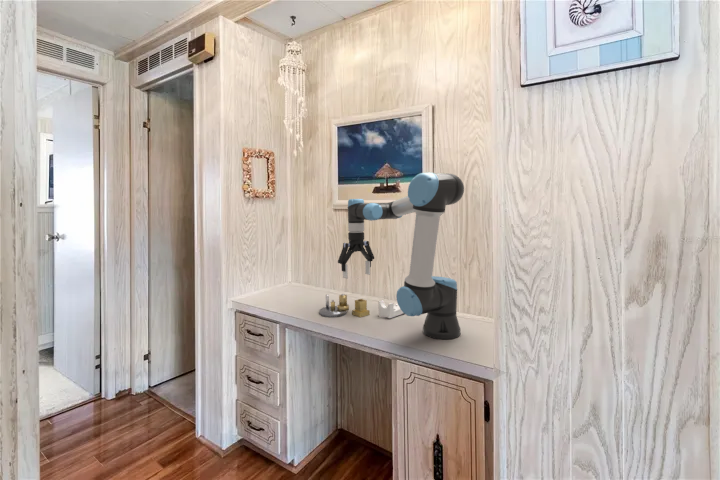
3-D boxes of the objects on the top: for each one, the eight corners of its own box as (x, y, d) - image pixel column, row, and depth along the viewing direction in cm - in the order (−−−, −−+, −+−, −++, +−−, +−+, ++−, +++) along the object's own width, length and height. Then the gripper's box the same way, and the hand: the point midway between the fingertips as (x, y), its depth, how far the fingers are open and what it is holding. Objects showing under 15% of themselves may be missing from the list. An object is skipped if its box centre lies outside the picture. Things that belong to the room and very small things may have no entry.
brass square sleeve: (369, 314, 177) (369, 300, 176) (359, 317, 173) (359, 302, 173) (361, 311, 182) (361, 297, 181) (352, 314, 178) (351, 300, 177)
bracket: (389, 320, 170) (389, 304, 169) (378, 316, 175) (378, 301, 174) (407, 313, 179) (407, 298, 178) (396, 310, 184) (396, 295, 183)
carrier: (352, 313, 180) (352, 294, 179) (329, 319, 171) (328, 299, 170) (337, 307, 190) (337, 289, 189) (314, 312, 182) (314, 294, 181)
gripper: (371, 229, 185) (371, 271, 187) (329, 233, 170) (330, 278, 172) (381, 230, 179) (381, 273, 182) (339, 234, 164) (339, 281, 166)
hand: (356, 276), depth 177 cm, fingers open, 13 cm apart
